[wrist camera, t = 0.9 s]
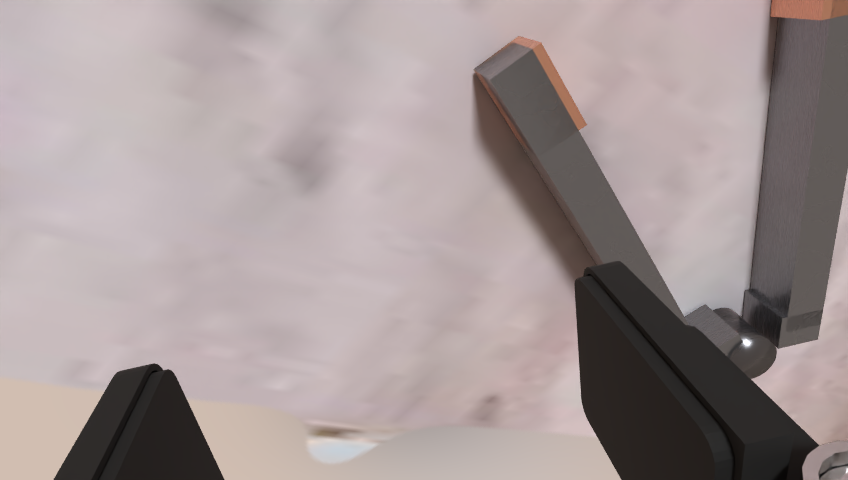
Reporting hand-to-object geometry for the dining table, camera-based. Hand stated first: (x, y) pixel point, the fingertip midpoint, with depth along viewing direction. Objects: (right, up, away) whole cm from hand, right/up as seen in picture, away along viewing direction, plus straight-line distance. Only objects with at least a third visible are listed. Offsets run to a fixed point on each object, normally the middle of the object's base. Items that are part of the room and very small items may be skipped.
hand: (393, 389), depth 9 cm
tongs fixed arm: (+19, +7, +19) cm, 28 cm away
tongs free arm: (+11, +4, +19) cm, 23 cm away
